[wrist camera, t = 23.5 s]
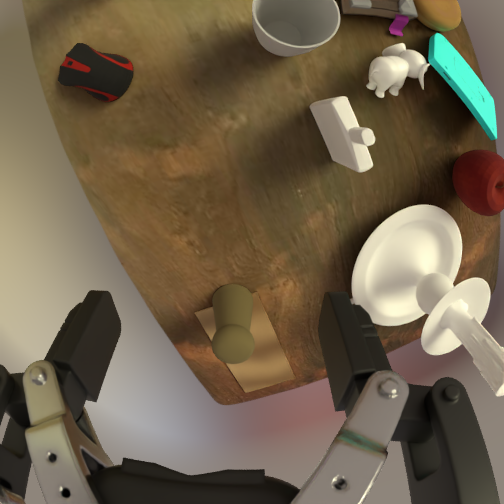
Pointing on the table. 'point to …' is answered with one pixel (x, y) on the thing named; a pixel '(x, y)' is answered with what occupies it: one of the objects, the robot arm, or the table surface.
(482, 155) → the apple
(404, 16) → the book
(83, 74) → the computer mouse
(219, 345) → the pepper shaker
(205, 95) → the table surface
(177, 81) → the table surface
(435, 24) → the bread roll
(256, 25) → the cup
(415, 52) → the elephant figurine
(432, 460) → the robot arm
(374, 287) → the candlestick
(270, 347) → the cork mat
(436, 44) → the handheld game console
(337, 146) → the perfume bottle
